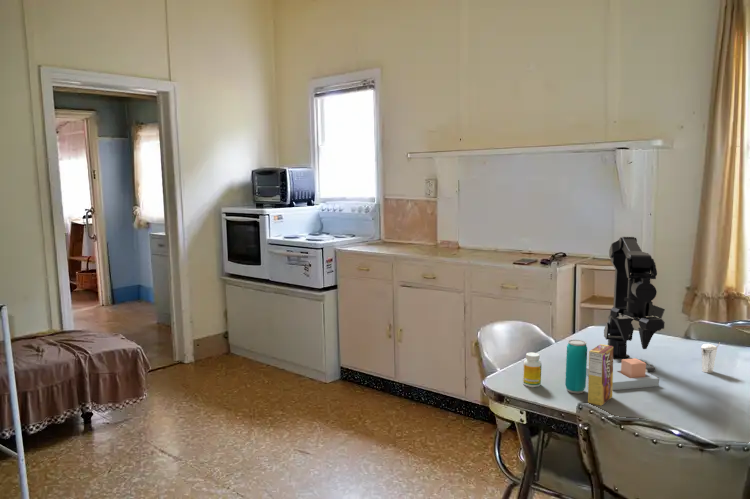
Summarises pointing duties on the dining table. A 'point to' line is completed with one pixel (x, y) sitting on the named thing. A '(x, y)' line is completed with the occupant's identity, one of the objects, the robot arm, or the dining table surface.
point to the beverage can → (576, 366)
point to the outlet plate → (629, 379)
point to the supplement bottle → (532, 370)
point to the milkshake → (708, 357)
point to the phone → (649, 368)
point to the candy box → (600, 374)
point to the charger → (633, 368)
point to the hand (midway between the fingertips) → (634, 344)
